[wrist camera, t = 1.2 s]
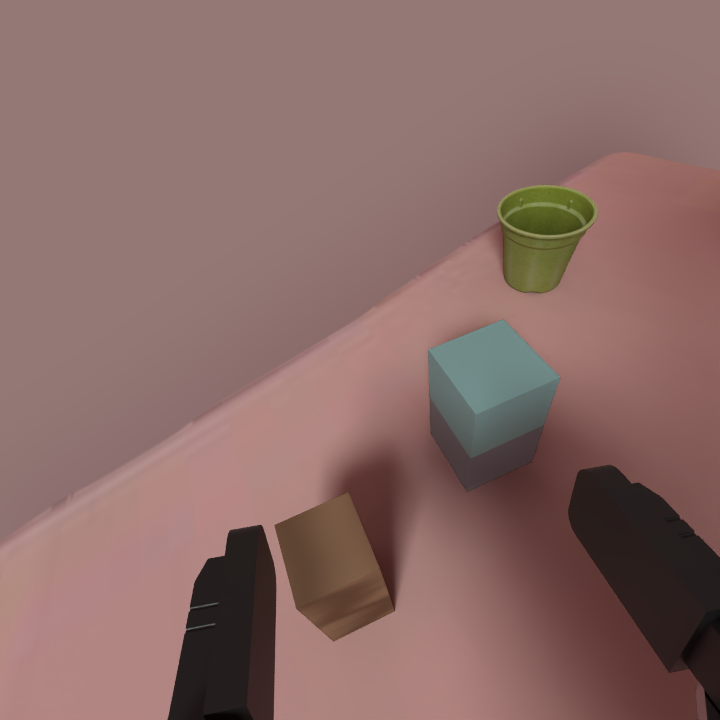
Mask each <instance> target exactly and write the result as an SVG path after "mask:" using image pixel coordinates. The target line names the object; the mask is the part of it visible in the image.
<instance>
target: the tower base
mask: <svg viewBox="0 0 720 720" xmlns="http://www.w3.org/2000/svg"><path fill="white" fill-rule="evenodd" d="M430 425H431V434H432V436H433V438H434V439H435V441H436V443H437V444H438V446H439V447H440V449H441V451H442V452H443V454H444V456H445V457H446V459H447V460H448V462H449V464H450V465H451V467H452V469H453V470H454V472H455V473H456V475H457V477H458V478H459V480H460V481H461V483H462V485H463V486H464V488H465V490H466V491H467V492H468V491H470V490H472V489H474V488H476V487H478V486H481V485H483V484H485V483H487V482H489V481H491V480H493V479H496V478H498V477H500V476H502V475H504V474H506V473H508V472H510V471H513V470H515V469H517V468H519V467H521V466H523V465H525V464H528V463H530V462H532V460H533V457H534V454H535V451H536V448H537V445H538V442H539V439H540V437H541V434H542V431H543V428H544V425H543V426H541V427H539V428H536V429H534V430H532V431H530V432H528V433H525V434H523V435H521V436H519V437H517V438H514V439H512V440H510V441H508V442H506V443H503V444H501V445H499V446H497V447H495V448H492V449H490V450H488V451H486V452H484V453H481V454H479V455H477V456H475V457H473V458H470V457H469V455H468V454H467V452H466V451H465V449H464V448H463V446H462V445H461V443H460V442H459V440H458V439H457V437H456V436H455V434H454V433H453V431H452V430H451V428H450V427H449V425H448V424H447V422H446V421H445V419H444V418H443V416H442V415H441V413H440V412H439V410H438V409H437V407H436V406H435V404H434V403H433V401H432V400H431V398H430Z"/></svg>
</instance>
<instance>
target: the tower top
mask: <svg viewBox="0 0 720 720" xmlns="http://www.w3.org/2000/svg"><path fill="white" fill-rule="evenodd" d="M428 358H429V397H430V398H431V400H432V401H433V403H434V404H435V406H436V407H437V409H438V410H439V412H440V413H441V415H442V416H443V418H444V419H445V421H446V422H447V424H448V425H449V427H450V428H451V430H452V431H453V433H454V434H455V436H456V437H457V439H458V440H459V442H460V443H461V445H462V446H463V448H464V449H465V451H466V452H467V454H468V455H469V457H470V458H473V457H475V456H477V455H479V454H481V453H484V452H486V451H488V450H490V449H492V448H495V447H497V446H499V445H501V444H503V443H506V442H508V441H510V440H512V439H514V438H517V437H519V436H521V435H523V434H525V433H528V432H530V431H532V430H534V429H536V428H539V427H541V426H543V425H544V423H545V421H546V418H547V415H548V412H549V409H550V406H551V403H552V400H553V397H554V394H555V391H556V388H557V386H558V383H559V380H560V377H559V376H558V375H557V373H556V372H555V371H554V370H553V369H552V368H551V367H550V366H549V365H548V364H547V363H546V362H545V361H544V360H543V359H542V358H541V357H540V356H539V355H538V354H537V353H536V352H535V351H534V350H533V349H532V348H531V347H530V346H529V345H528V344H527V343H526V342H525V341H524V340H523V339H522V338H521V337H520V336H519V335H518V334H517V333H516V332H515V331H514V329H513V328H512V327H511V326H510V325H509V324H508V323H507V322H506V321H505V320H504V319H503V320H500V321H498V322H496V323H493V324H491V325H488V326H486V327H483V328H481V329H478V330H476V331H473V332H471V333H468V334H466V335H463V336H461V337H458V338H456V339H453V340H451V341H449V342H446V343H444V344H441V345H439V346H436V347H434V348H431V349H429V350H428Z"/></svg>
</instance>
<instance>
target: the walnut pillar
mask: <svg viewBox="0 0 720 720" xmlns="http://www.w3.org/2000/svg"><path fill="white" fill-rule="evenodd" d="M275 529H276V533H277V537H278V541H279V544H280V548H281V552H282V556H283V560H284V563H285V567H286V571H287V575H288V578H289V582H290V586H291V590H292V594H293V597H294V601H295V605H296V609H297V610H298V611H299V612H301V613H302V614H303V615H304V616H305V617H306V618H307V619H309V620H310V621H311V622H312V623H313V624H314V625H315V626H316V627H318V628H319V629H320V630H321V631H322V632H323V633H324V634H326V635H327V636H328V637H329V638H330V639H331V640H332V641H333V642H334V641H336V640H338V639H340V638H342V637H344V636H346V635H348V634H350V633H352V632H354V631H356V630H358V629H360V628H362V627H364V626H366V625H368V624H370V623H372V622H374V621H376V620H378V619H380V618H382V617H384V616H386V615H388V614H390V613H392V612H394V611H395V610H394V607H393V604H392V601H391V599H390V596H389V593H388V590H387V587H386V584H385V582H384V579H383V576H382V573H381V570H380V568H379V565H378V563H377V560H376V558H375V555H374V553H373V550H372V548H371V546H370V543H369V541H368V538H367V536H366V533H365V531H364V528H363V526H362V524H361V521H360V519H359V516H358V514H357V511H356V509H355V506H354V504H353V502H352V499H351V497H350V494H349V492H348V493H345V494H343V495H341V496H339V497H336V498H334V499H332V500H330V501H327V502H325V503H323V504H321V505H318V506H316V507H314V508H312V509H309V510H307V511H305V512H303V513H301V514H298V515H296V516H294V517H292V518H289V519H287V520H285V521H283V522H280V523H278V524H276V525H275Z"/></svg>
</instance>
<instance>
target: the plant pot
mask: <svg viewBox="0 0 720 720" xmlns="http://www.w3.org/2000/svg"><path fill="white" fill-rule="evenodd" d="M497 215H498V218H499V220H500V222H501V227H502V230H503V246H504V277H505V280H506V282H507V283H508V284H509V285H510V286H511V287H513V288H514V289H516V290H519V291H521V292H538V293H544V292H547V291H550V290H552V289H554V288H555V287H556V286H557V285H558V284H559V282H560V280H561V278H562V276H563V274H564V272H565V269H566V267H567V265H568V263H569V261H570V259H571V257H572V255H573V253H574V250H575V248H576V246H577V244H578V242H579V240H580V238H581V237H582V236H583V235H584V234H585V233H586V231H587V229H589V228H590V227H591V226H592V225H593V223H594V222H595V220H596V218H597V215H598V209H597V206H596V204H595V202H594V201H593V200H592V199H591V198H590V197H588V196H587V195H585V194H584V193H582V192H579V191H577V190H574V189H571V188H567V187H562V186H555V185H553V186H552V185H539V186H530V187H525V188H522V189H519V190H516V191H513V192H511V193H510V194H508V195H507V196H505V197H504V198H503V199H502V200H501V202H500V203H499V205H498V208H497Z"/></svg>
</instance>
